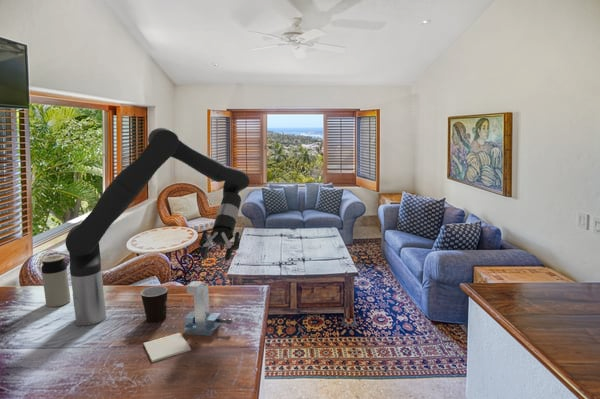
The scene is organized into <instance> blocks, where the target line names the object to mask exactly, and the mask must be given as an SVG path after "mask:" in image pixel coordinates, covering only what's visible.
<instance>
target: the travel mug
mask: <svg viewBox="0 0 600 399" xmlns="http://www.w3.org/2000/svg"><path fill="white" fill-rule="evenodd" d="M65 257H66V256H65V255H64V254H52V255H51V254H50V255H47V256H43V257H42V258H41V259H40V261H41V262H42V266H41V268H40V270H41V274H42V277H41V278H42V284H43V292H44V300H45V306H46V307H50V308H57V307H62V306H64V305H66V304H67V305H68V303H70V302H71V300H72V299H71V292H70V290H71V289H70V285H69V276H68V267H67V263H66V262H65Z"/></svg>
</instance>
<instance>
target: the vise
mask: <svg viewBox="0 0 600 399" xmlns="http://www.w3.org/2000/svg"><path fill="white" fill-rule="evenodd" d="M221 316H222V315H221V313H220V312H210V315H209V316H208V318H207V319H206V320H205V322H206V326H202V325H195V310H190V311H189V313H188V314H186V315H185V316H184V318H183V322H184V334H187V335H188V334H191V335H199V336H206V337H207V336H209V337H212V335H213V334H214V333H215V332H216V330H218V328H219V327H220V326H221V324H227V325H232V324H233V320H232V318H228V319H224V318H221Z"/></svg>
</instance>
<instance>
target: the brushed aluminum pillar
mask: <svg viewBox="0 0 600 399" xmlns="http://www.w3.org/2000/svg"><path fill="white" fill-rule="evenodd" d="M186 294H187V295H188V294H190V295H193V307H194V311H195V325H202V326H206V322H205V320H206V319H207V318H208V316H209V315H210V314H211V312H210V311H211V310H210V309H211V308H210V294H209V283H206V282H205V283H204V282H203V281H199V280H198V281H196V280H192V281H191V282H189V283H188V284H187V285H186Z"/></svg>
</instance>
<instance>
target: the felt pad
mask: <svg viewBox="0 0 600 399" xmlns="http://www.w3.org/2000/svg"><path fill="white" fill-rule="evenodd" d="M143 347H144V348H145V350H146V352H147V356H148V357H149V360H150V361H151V363H154V362H158V361H161V360H164V359H167V358H170V357H174V356H176V355H180V354H183V353H188V352H189V351H191V350H192V348H191V347H190V345H189V343H188V342H187V341H186V339H185V338H184V337H183V335H182V334H181V332H176V333H173V334H171V335H170V334H169V335H167V336H164V337H161V338H156V339H153V340H150V341H145V342H143Z"/></svg>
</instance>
